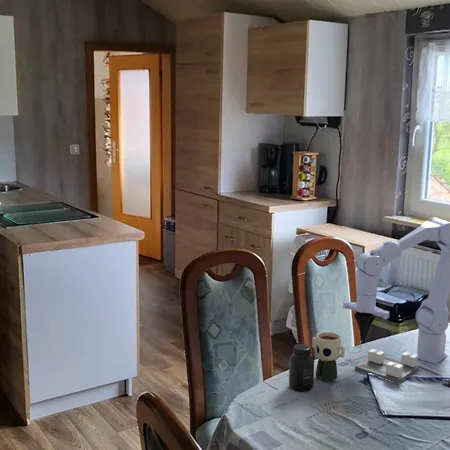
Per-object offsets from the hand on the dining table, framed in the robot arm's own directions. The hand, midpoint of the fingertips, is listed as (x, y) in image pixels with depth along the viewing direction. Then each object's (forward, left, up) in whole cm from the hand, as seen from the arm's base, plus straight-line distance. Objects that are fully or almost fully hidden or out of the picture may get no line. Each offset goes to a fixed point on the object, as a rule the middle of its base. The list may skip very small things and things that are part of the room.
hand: (363, 335), depth 188 cm
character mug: (+18, -2, -9) cm, 20 cm away
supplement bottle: (+28, -4, -9) cm, 29 cm away
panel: (0, +8, -9) cm, 12 cm away
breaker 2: (-5, +13, -7) cm, 16 cm away
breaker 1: (+5, +13, -7) cm, 15 cm away
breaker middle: (0, +5, -7) cm, 8 cm away
